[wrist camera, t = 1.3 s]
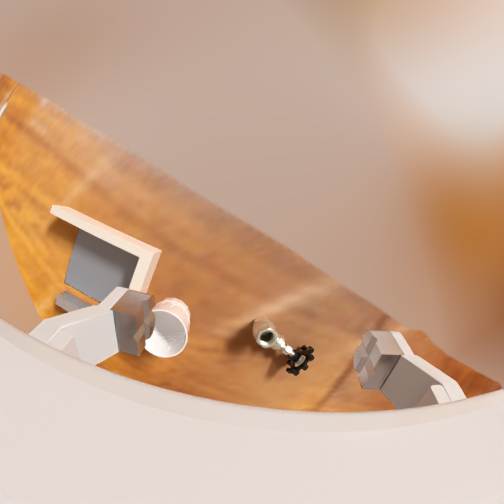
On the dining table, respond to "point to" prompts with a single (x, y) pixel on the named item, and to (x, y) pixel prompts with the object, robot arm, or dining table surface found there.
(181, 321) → the white cup
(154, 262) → the corner walls
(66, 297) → the bracket
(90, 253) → the mat
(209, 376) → the dining table surface
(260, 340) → the valve
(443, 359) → the dining table surface
